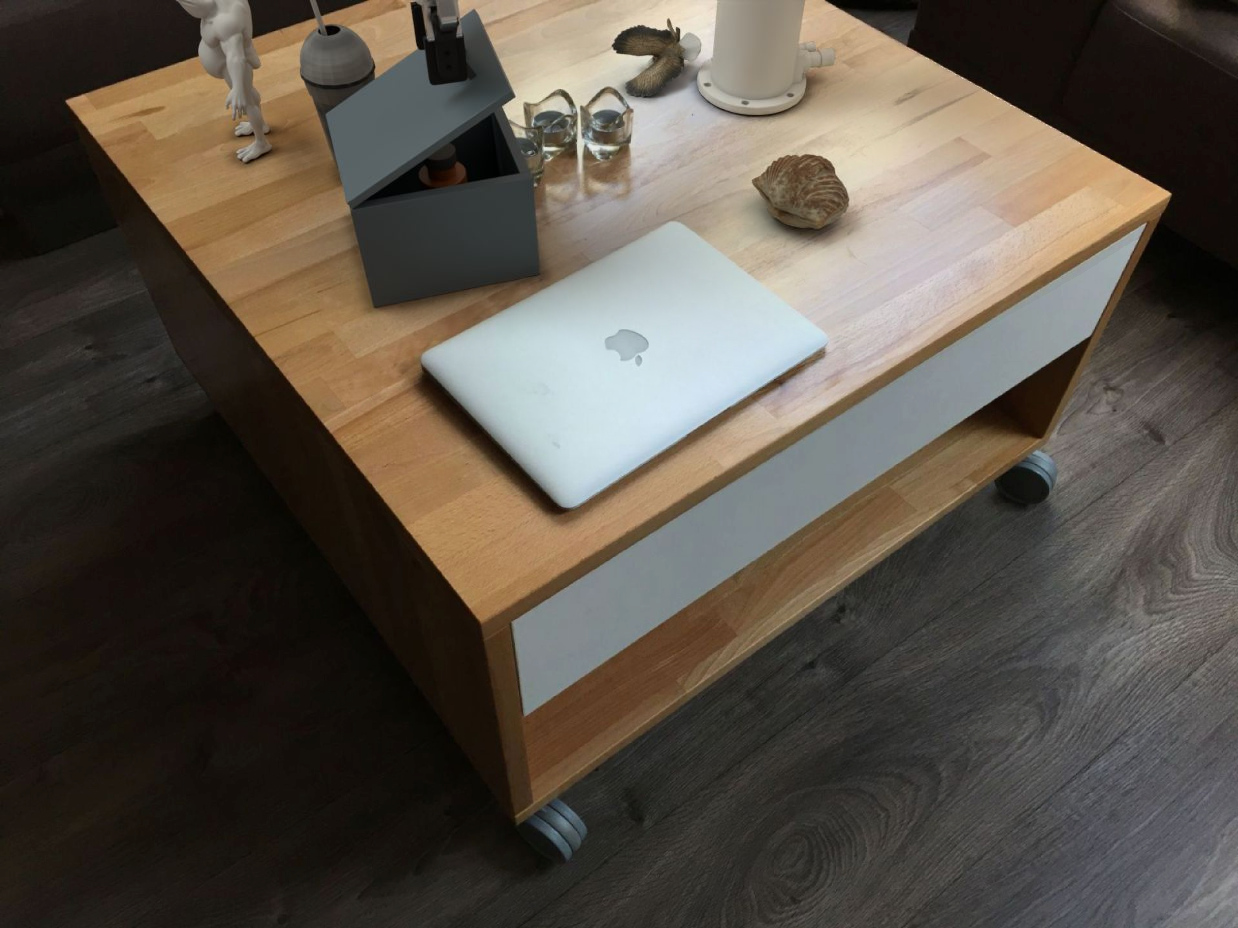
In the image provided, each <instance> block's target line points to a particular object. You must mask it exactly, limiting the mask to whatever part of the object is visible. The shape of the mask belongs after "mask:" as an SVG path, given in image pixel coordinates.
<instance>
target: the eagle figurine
mask: <svg viewBox="0 0 1238 928" xmlns="http://www.w3.org/2000/svg"><path fill="white" fill-rule="evenodd" d="M672 24H673V23H672V21H671V19H670V18H669V17H668V18H667V19H666V27H667V28H665V29H662V30H661V29H657V28H656V27H654V28H653V27H652V28H651V27H649V26H646V25H644V24H637V25H633V26H631V27H629V28H626V29H625V30H621V31H620V33H619V34H617V36H616V37H615V38H614V40H613V41H614V42H613V43H612V44H611V45H610V47H612V51H614V52H615V54H617V55H626V56H635V57H645V56H646V57H647V56H649V57H650V56H651V58H650V59H648V61H647V62H646V63H645V68H644V70H643V71H641V72H640V73H639V74H637V75H636V76H634V77H633V78H631V79H629V80H627V81H626V82H625V93H627V94H628V95H629V96H634V97H638V96H641V97H645V96H646V97H650V96H653V95H655V94H658V93H659V92H660V91H662V88H664V87H666V86H667V84H669V83H670V82H672V80H675V79H677V78H678V77H679V76H680V74H681V72H682V69H685V66H686V64H685V61H687V62H689V63H693V62H695V61H696V60H697V59H698V58H699V56H700V53H701V51H702V42H701V39H700V38H699V37H698V36H697V35H696V34H695V33H692V32H686V33H685V34H684V35H683V36H682V38H681V28H680V27H678V26H675V29H674V27H673V25H672Z"/></svg>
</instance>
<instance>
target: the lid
mask: <svg viewBox="0 0 1238 928" xmlns="http://www.w3.org/2000/svg"><path fill="white" fill-rule="evenodd" d="M436 15H437V10H435V11H434V12H432V14H431V17H432V20H433V17H434V16H436ZM460 21H461V28H462V32H463V34H464V43H465V53H466V62H467V72H468V78H467V80H466V81H463V82H456V83H449V84H442V85H431V84H430V81H429V78H428V71H427V63H426V56H425V50H419V49H418V48H416V49H415V50H414V51H412V52H411V53H410V54H408V55H406V56H405V57H404V58H403V59H401V60H399V61H398V62H397V63H395V64H394V65H392V66H391V67H390V68H388V69H387V70H386V71H384V72H383V73H381V74H380V75H378V76H377V77H375V79H374V80H373V81H371V82H370V83H369V84H367V85H366V86H364V87H363V88H362V89H360V90H359V91H357V92H356V93H355V94H353V95H352V96H350V97H349V98H348V99H346V100H345V101H343V102H342V103H340V104H339V105H338V106H336V107H335V108H333V109H332V110H331V111H329V112H328V113H326V118H327V122H328V127H329V131H330V135H331V139H332V143H333V148H334V152H335V156H336V160H337V164H338V169H339V170H338V169H337V170H338V174H339V173H340V175H339V176H340V180H341V184H342V185H341V186H342V189H343V193H344V198H345V201H346V204H347V205H348V207H349V206H350V207H351V208H354V207H356V206H357V205H359V204H360V203H362V202H363V201H365V200H366V199H367V198H369V197H370V196H372V195H373V194H375V193H376V192H378V191H379V190H381V189H382V188H384V187H385V186H386V185H388V184H389V183H391V182H392V181H394V180H395V179H397V178H398V177H400V176H401V175H403V174H404V173H406V172H407V171H408V170H410V169H411V168H413V167H414V166H416V165H417V164H419V163H420V162H422V161H423V160H425V159H426V158H427V157H429V156H430V155H432V154H433V153H435V152H436V151H438V150H439V149H441V148H442V147H444V146H445V145H446V144H448V143H449V142H451V141H452V140H454V139H455V138H457V137H458V136H460V135H461V134H463V133H464V132H466V131H467V130H468V129H470V128H471V127H473V126H474V125H476V124H477V123H479V122H480V121H482V120H483V119H485V118H486V117H487V116H489V115H490V114H492V113H493V112H495V111H496V110H498V109H499V108H501V107H503V106H505V105H506V104H508V103H510V102H511V101H512V100H514V99H515V98H516V97H517V96H516V94H515V91H514V89H513V87H512V85H511V83H510V81H509V80H510V79H509V78H508V76H507V74H506V72H505V70H504V68H503V67H504V66H503V65H502V63H501V61H500V58H499V55H498V54H497V51H496V50H495V47H494V45H493V44H492V41H491V39H490V36H489V34H488V32H487V30H486V28H485V26H484V23H483V21H482V19H481V17H480V15H479V13H478V12H477V10H476V8H472V9H471V10H470V11H468V12H467V13H466V14H465V15H463V16H462V17H460ZM350 207H349V208H350Z"/></svg>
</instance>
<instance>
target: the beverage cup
mask: <svg viewBox="0 0 1238 928" xmlns="http://www.w3.org/2000/svg"><path fill="white" fill-rule="evenodd" d="M309 2H310V4H311V7H312V10H313V14H314V17H315V19H316V22H317V26H318V27H316V28H315V29H313V30H312V31H310V33H309V34H307V36H306V37H305V38H304V41H303V43H302V45H301V48H300V50H299V51H300V52H299V65H300V67H299V75H300V78H301V80H302V81H303V82H304V86H305V87H306V90H307V92H308V94H309V96H310V97H311V99H312V102H313V104H314V107H315V110H316V113H317V116H318V119H319V121H320V124H321V127H322V130H323V133H324V136H325V139H326V142H327V144H328V148H329V150H330V153H331V156H332V159H333V162H334V163H335V166H336V169H337V170H338V171H339V169H338V164H337V160H336V156H335V152H334V148H333V143H332V139H331V135H330V131H329V127H328V122H327V118H326V113H328V112H329V111H331V110H332V109H333V108H335V107H336V106H338V105H339V104H340V103H342V102H343V101H345V100H346V99H348V98H349V97H350V96H352V95H353V94H355V93H356V92H357V91H359V90H360V89H362V88H363V87H364V86H366V85H367V84H369V83H370V82H371V81H373V80H374V79H376V72H375V71H376V68H377V67H376V62H375V60H374V58H373V57H372V54H371V50H370V47H369V45H367V43H366V42H365V40H363V38H362V37H361V36H360V35H359V34H358V32H357V33H356V31H354V30H353V29H351V28H349V27H347V26H345V25H342V24H336V23H329V24H325V23H324V21H323V18H322V15H321V12H320V9H319V6H318V3H317V1H316V0H309ZM338 174H339V176H340V173H339V172H338Z"/></svg>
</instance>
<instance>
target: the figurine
mask: <svg viewBox="0 0 1238 928" xmlns="http://www.w3.org/2000/svg"><path fill="white" fill-rule="evenodd" d="M175 1H176V2H177V3H178V4H180V6H181V7H182V8H183V9H184V10H185V11H186V12H187V13H188V14H189V15H191V16H192V17H194V18H196V19H201V20H200V26H199V27H200V36H201V39H200V41H199V45H198V58H199V62H200V64H201V65H202V68H203V69H204V71H205V72H206V73H207V74H208V75H209V76H211V77H213V78H215V79H218V80H224V82H225V83H226V85H227V86H228V88H229V89H230V92H229V93H228V95H227V96H226V100H225V103H224V106H225V110H226V111H228V110H229V109H230V105H231V109H232V110H231V112H232V117H231V120H232V121H236V120H237V119H239V120H241V119H242V118H243V116H246V118H247V119H248V121H241V122H239V125H237V126H235V131H234V135H235V136H237V137H239V136H241V135H244V136H248V135H249V136H250V135H251V134H252V133H253V134H254V138H255V140H254V141H253V142H251V144H249V145H248V146H245V147H242V148H239V149H238V150H236V151H235V153H236V155H237V159H238V160H242V162H243V163H248V162H249V161H250V160H255V159H257V158H259V157H260V156H261V155H262V154H265V153H267V152H270V150H272V144H271V143H270V142H268V140H267V138H266V136H265V134H267V133H269V132H270V126H269V124H267V123H266V121H265V119H264V117H263V112H262V104H261V102H262V97H261V93H260V92H259V90H257V88H256V87H255V86H254V85H253V84H254V70H258V69H260V68H261V66H262V63H261V59H260V57H259V54H258V52H257V50H256V48H255V46H254V45H255V44H254V42H253V20H252V19H253V18H252V11H251V7H250V4H249V1H248V0H175ZM236 117H237V119H236Z"/></svg>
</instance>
